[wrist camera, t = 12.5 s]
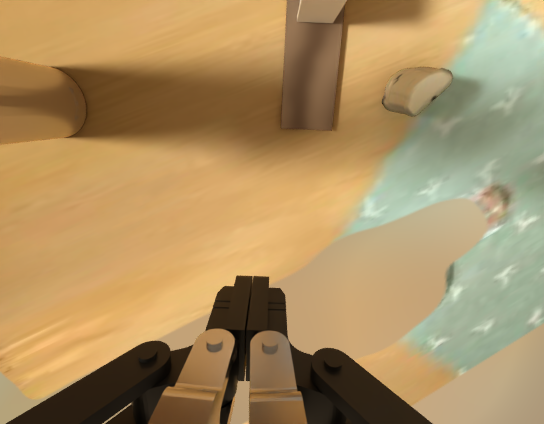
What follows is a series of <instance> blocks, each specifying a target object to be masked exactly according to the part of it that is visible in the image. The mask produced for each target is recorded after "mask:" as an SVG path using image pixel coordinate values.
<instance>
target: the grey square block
mask: <svg viewBox="0 0 544 424" xmlns="http://www.w3.org/2000/svg"><path fill="white" fill-rule="evenodd" d="M346 1H347V0H300V4H299V10H298V14H297V22H313V23H333V22H334V20H335V19H336V17H337V16H338V14H339V12H340V11H341V9H342V8H343V6H344V4H345V3H346Z"/></svg>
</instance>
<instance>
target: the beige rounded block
mask: <svg viewBox="0 0 544 424" xmlns="http://www.w3.org/2000/svg"><path fill="white" fill-rule="evenodd" d="M452 79H453V77H452V73H451V72H450V71H449V70H447V69H444V68H441V69H436V68H430V67H417V68H407V69H403V70H400V71H398V72H397V73H395V74H394V75H392V76H391V77H390V79H389V81H388V82H387V85H386V87H385V94H384V96H383V99H382V104H383V106H384V107H385V108H386V109H387V110H389V111H392V112H398V113H403V114H407V115H409V116H416V115H418V114H419V113H420V112H421V111H422V110H423V109H424V108H425V107H427V106H428V105H429V104H430V103H431V102H432V101H433V100H434V99H435V98H437V97H438V96H439V95H440V94H441V93H442V92H443V91H444V90H445V89H447V88H448V87H449V85H450V84H451V82H452Z"/></svg>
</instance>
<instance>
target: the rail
mask: <svg viewBox="0 0 544 424" xmlns="http://www.w3.org/2000/svg"><path fill="white" fill-rule="evenodd" d="M299 4H300V0H287V12H286V33H285V54H284V75H283V96H282V117H281V128H284V129H307V130H331V131H332V125H333V115H334V105H335V96H336V86H337V76H338V66H339V57H340V47H341V37H342V27H343V17H344V8H345V4H344V6H343V8H342V9H341V11H340V12H339V14H338V16H337V17H336V19H335V20H334V22H333V23H313V22H297V14H298V10H299Z"/></svg>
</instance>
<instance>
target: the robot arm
mask: <svg viewBox="0 0 544 424" xmlns="http://www.w3.org/2000/svg"><path fill="white" fill-rule="evenodd" d="M85 118H86V103H85V99H84V96H83V94H82V92H81V90H80V88H79V87H78V85H77V84H76V83H75V81H74V80H73V79H72V78H71V77H70V76H68V75H67V74H65V73H64V72H62V71H60V70H58V69H56V68H52V67H48V66H43V65H38V64H33V63H29V62H24V61H20V60H15V59H10V58H5V57H0V145H2V144H11V143H20V142H29V141H38V140H48V139H57V138H64V137H69V136H71V135H74V134H75V133H76V132H78V131H79V130H80V128H81V127H82V126H83V124H84V121H85ZM252 283H253V284H252ZM245 368H246V381H250V391H249V424H432V423H431V422H430V421H429V420H427V419H426V418H425V417H424V416H422V415H421V414H420V413H419V412H417V411H416V410H415V409H414V408H412V407H411V406H410V405H409V404H407V403H406V402H405V401H404V400H402V399H401V398H400V397H399V396H397V395H396V394H395V393H394V392H392V391H391V390H390V389H389V388H387V387H386V386H385V385H384V384H382V383H381V382H380V381H379V380H377V379H376V378H375V377H374V376H372V375H371V374H370V373H369V372H367V371H366V370H365V369H364V368H362V367H361V366H360V365H359V364H358V363H356V362H355V361H354V360H353V359H351V358H350V357H349V356H348V355H346V354H345V353H343V352H342V351H339V350H337V349H333V348H323V349H320V350H318V351H316V352H315V354H314V355H310V354H306V353H303V352H301V351H299V350H297V349H296V348H294V346H292V345H291V343H290V342H289V340H288V336H287V318H286V301H285V294H284V293H283V292H282V290H281V289H280V288H269V277H263V276H254V277H252V276H236V280H235V284H234V286H224V287H223V288H222V289H221V290H220V291H219V292H218V293H217V296H216V299H215V302H214V305H213V309H212V312H211V315H210V318H209V321H208V325H207V327H206V331H205V332H203V333H202V334H200V335H199V336H198V338H197V339H196V341H195V343H194V345H192V346H189V347H187V348H183V349H179V350H174V351H170V348H169V346H168V345H167V344H165V343H163V342H161V341H149V342H145V343H142V344H140V345H138V346H136V347H135V348H133V349H131V350H130V351H128V352H126V353H125V354H123V355H121V356H119V357H118V358H116V359H114V360H113V361H111V362H109V363H108V364H106V365H104V366H103V367H101V368H99V369H97V370H96V371H94V372H92V373H91V374H89V375H87V376H86V377H84V378H82V379H81V380H79V381H77V382H75V383H74V384H72V385H70V386H69V387H67V388H65V389H64V390H62V391H60V392H59V393H57V394H55V395H54V396H52V397H50V398H48V399H47V400H45V401H43V402H42V403H40V404H38V405H37V406H35V407H33V408H31V409H30V410H28V411H26V412H25V413H23V414H21V415H20V416H18V417H16V418H15V419H13V420H11V421H9V422H8V423H6V424H102V423H104V422H105V421H106V420H108V419H109V418H110V417H112V416H113V415H115V414H116V413H117V412H119V411H120V410H121V409H123V408H124V407H125V406H127V405H128V404H130V403H132V404H131V405H130V406H128V407H127V408H126V409H124V410H123V411H122V412H120V413H119V414H118V415H116V416H115V417H114V418H112V419H111V420H110V421H108V422H107V423H106V424H230V421H231V415H232V411H233V407H234V402H235V393H236V390H237V383H238V381H244V377H245Z"/></svg>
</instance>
